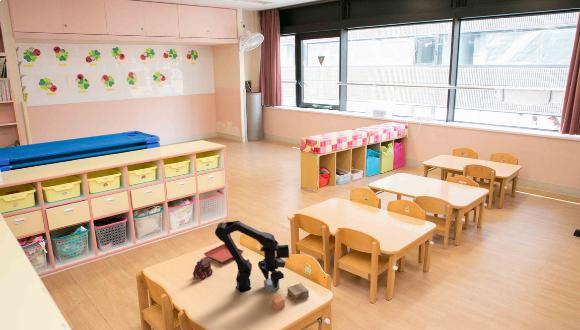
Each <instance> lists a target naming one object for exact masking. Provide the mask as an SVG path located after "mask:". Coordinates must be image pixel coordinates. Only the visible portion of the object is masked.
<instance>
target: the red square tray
mask: <svg viewBox="0 0 580 330" xmlns="http://www.w3.org/2000/svg"><path fill="white" fill-rule="evenodd" d="M238 250H239V251H240V253H241V255H242V254H243V253H244V250H243V249H240V248H238ZM203 255H204V256H205V257H207V256H210V257H211V260H212V261H215V262H217V263H219V264H221V265H224V264H226V263H228V262H230V261H232V260H234V258H233V257H232V255H231V253H230V252H229V250H228V248H227V247H226V245H225V243H223V244H220V245H219V246H217V247H214V248H212V249H210V250H208V251H205V252H204V253H203Z"/></svg>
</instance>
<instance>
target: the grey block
mask: <svg viewBox="0 0 580 330" xmlns="http://www.w3.org/2000/svg"><path fill="white" fill-rule="evenodd" d="M263 287H264V288H265V289H266V290H267V291H268V292H269V293H271V292H273V291H276V290H278V289H280V281H279V282H278V285H277V288H274V286H273V284H272V281H271V279H270V278H269V279H267V280H266V279H265V280H263Z"/></svg>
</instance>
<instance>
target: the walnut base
mask: <svg viewBox="0 0 580 330" xmlns="http://www.w3.org/2000/svg"><path fill="white" fill-rule="evenodd" d="M287 295H288V296H289V297H291V299H292V300H293V301H294V302H298V301H301V300H304V299H306V298H309V289H308V288H307V287H305V286H304V284H302V283H301V282H300V283H297V284H294V285H291V286H288V287H287Z"/></svg>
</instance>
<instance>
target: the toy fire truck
mask: <svg viewBox="0 0 580 330" xmlns="http://www.w3.org/2000/svg"><path fill="white" fill-rule="evenodd" d="M211 260H212V259H211V257H210V256H205V257H204V258H202V259H200V260H198V261H196V264H195V265H194V269H193V272H192V275H193V278H194V279H198V278H199V279H200V280H202V281H203V280H205V279H206V277H207V276H209V277H210V276H212V274H213V273H214V271H213V269H212V266H211Z"/></svg>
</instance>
